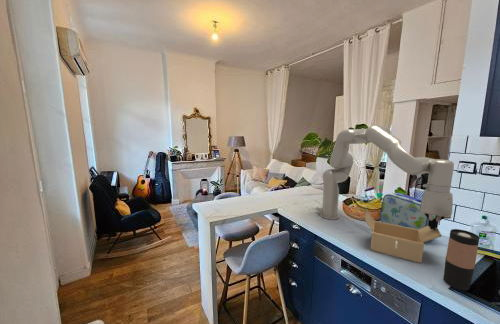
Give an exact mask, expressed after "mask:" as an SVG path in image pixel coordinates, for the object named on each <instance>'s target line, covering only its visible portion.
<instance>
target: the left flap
mask: <svg viewBox="0 0 500 324" xmlns="http://www.w3.org/2000/svg"><path fill="white" fill-rule="evenodd" d="M363 220H364V221H365V222H366V224H367V225H368V227H369V228H370V230H371V232H372V231H373V229H374V221H375V219H374V218H373V216H372V214H371V213H370V211H369V210H368V209H367V208H365V210H364V214H363Z"/></svg>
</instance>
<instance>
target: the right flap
mask: <svg viewBox="0 0 500 324" xmlns="http://www.w3.org/2000/svg"><path fill="white" fill-rule="evenodd" d="M419 231H420V234H421V237H422V240H423V243H426V242H429V241H432V240H435V239H437V238H440V237H442V233H441V232H440V230H439V228H438V227H437V228H436V229H435V230H433V229H430V227H429V226H426V227H424V228H421V229H419Z"/></svg>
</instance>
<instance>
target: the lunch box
mask: <svg viewBox="0 0 500 324" xmlns="http://www.w3.org/2000/svg"><path fill="white" fill-rule="evenodd" d="M421 200H422V199H420V198H417V197H414V196H411V195H408V194H404V193H401V192H393V193H386V194H384V196H383V198H382V201H381V208H380V214H379V215H380V216H379V217H380V218H379V219H380V222H382V223H387V224H392V225H397V226H402V227H407V228H412V229H417V230H419V229H421V228H424V227H426V226H428V221H429V219H428V218H427V217H426V216H425V215H423V214H420V213H419V210H420V204H421ZM435 216H436V215H432V217H433V219H434V218H435Z"/></svg>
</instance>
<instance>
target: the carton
mask: <svg viewBox="0 0 500 324" xmlns="http://www.w3.org/2000/svg"><path fill="white" fill-rule="evenodd" d="M370 241H371V243H370V248H369V249H370V251H372V252H377V253H380V254H383V255H387V254H388V256H391V255H392V256H391V257H395V256H396V258H399V259H404V260H406V259H407V261H410V260H411V261H410V262H414V263H419V264H422V261H423V254H424V246H425V242H423V240H422V237H421V234H420V231H419V230H417V229H412V228H407V227H402V226H397V225H392V224H387V223H382V222H381V221H376V220H374V229H373V231H372V230H371V240H370Z"/></svg>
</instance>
